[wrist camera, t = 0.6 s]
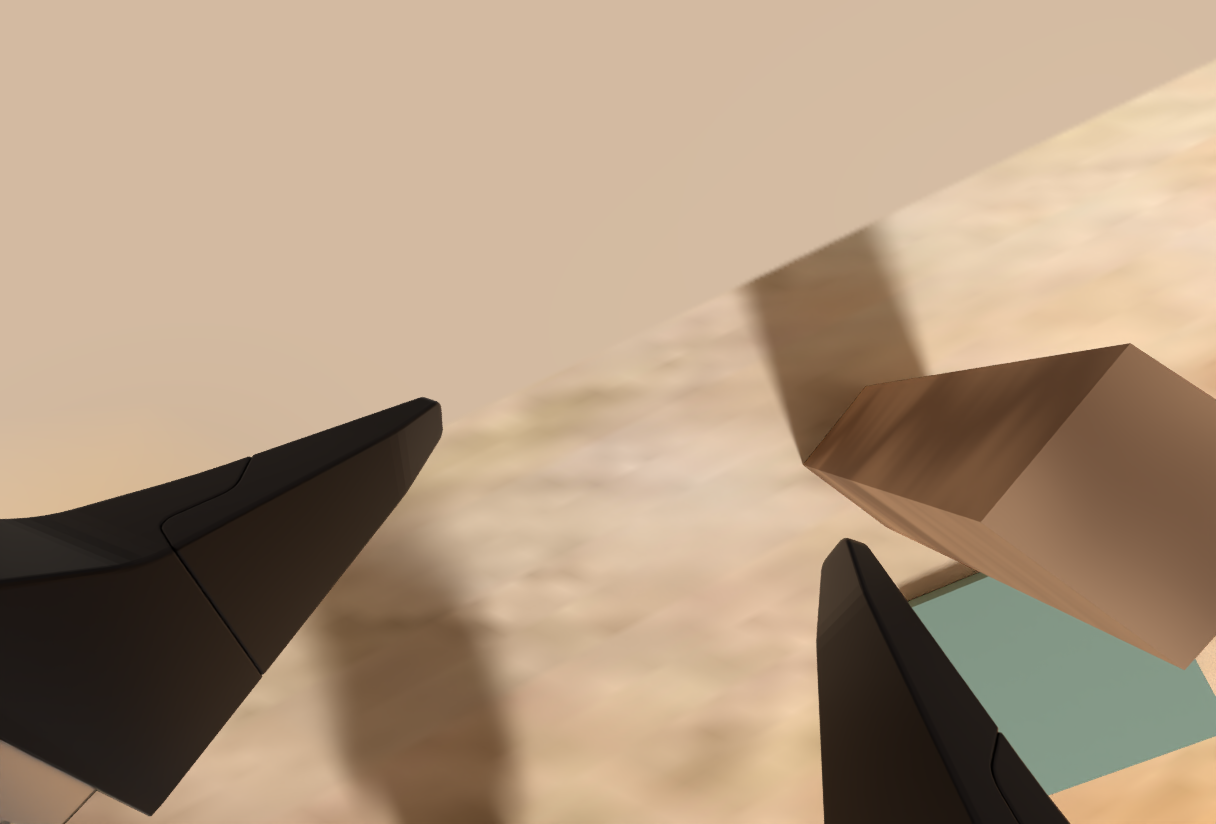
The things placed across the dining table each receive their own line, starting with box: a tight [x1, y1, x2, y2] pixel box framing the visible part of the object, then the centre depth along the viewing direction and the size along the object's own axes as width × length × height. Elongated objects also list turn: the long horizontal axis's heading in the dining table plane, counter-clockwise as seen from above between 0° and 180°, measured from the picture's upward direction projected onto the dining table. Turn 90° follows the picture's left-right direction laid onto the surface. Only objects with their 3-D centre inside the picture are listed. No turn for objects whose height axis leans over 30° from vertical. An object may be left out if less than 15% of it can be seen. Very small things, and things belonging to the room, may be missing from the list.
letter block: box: [803, 343, 1216, 670], centre depth 16 cm, size 5×5×13 cm
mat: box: [908, 572, 1216, 795], centre depth 21 cm, size 10×10×1 cm
